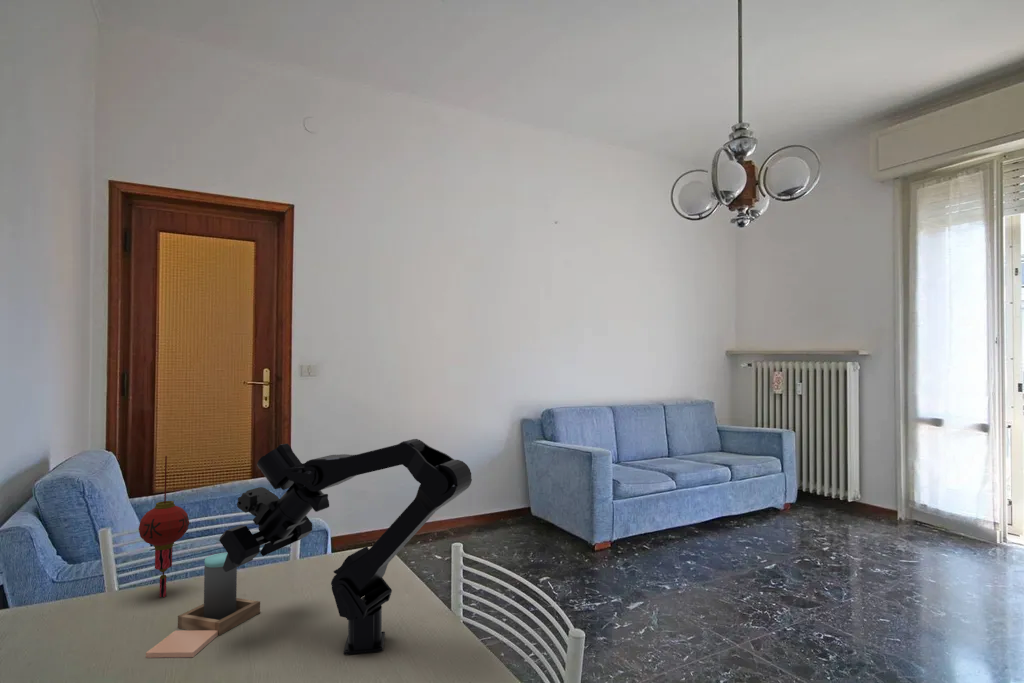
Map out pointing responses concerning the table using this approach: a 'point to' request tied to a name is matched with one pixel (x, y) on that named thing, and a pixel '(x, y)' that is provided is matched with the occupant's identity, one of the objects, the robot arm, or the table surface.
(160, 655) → the coaster
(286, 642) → the table surface
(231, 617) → the open square brown frame
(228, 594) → the teal-capped grey cylinder
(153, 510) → the lantern
